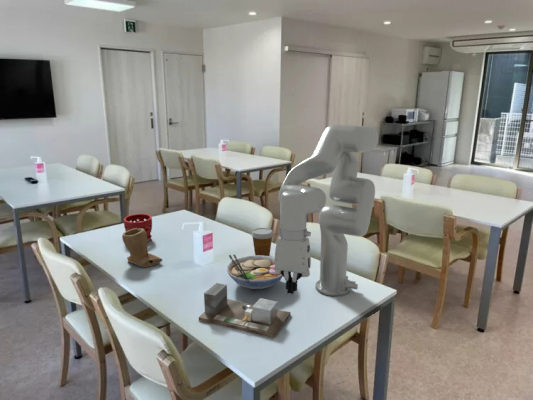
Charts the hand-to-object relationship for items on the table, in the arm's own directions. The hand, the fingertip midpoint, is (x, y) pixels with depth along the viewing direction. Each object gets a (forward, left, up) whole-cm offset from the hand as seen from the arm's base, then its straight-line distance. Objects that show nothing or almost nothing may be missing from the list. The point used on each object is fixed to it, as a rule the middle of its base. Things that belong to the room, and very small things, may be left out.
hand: (291, 292), depth 122 cm
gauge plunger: (+11, -1, -11) cm, 16 cm away
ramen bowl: (+22, -24, -13) cm, 35 cm away
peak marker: (+13, +3, -11) cm, 18 cm away
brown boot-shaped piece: (+76, -24, -13) cm, 81 cm away
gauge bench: (+16, -1, -13) cm, 20 cm away
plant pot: (+95, -46, -13) cm, 106 cm away
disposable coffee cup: (+31, -50, -13) cm, 60 cm away
